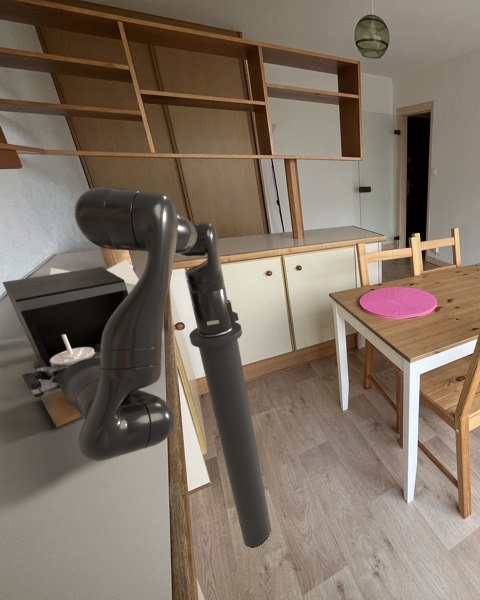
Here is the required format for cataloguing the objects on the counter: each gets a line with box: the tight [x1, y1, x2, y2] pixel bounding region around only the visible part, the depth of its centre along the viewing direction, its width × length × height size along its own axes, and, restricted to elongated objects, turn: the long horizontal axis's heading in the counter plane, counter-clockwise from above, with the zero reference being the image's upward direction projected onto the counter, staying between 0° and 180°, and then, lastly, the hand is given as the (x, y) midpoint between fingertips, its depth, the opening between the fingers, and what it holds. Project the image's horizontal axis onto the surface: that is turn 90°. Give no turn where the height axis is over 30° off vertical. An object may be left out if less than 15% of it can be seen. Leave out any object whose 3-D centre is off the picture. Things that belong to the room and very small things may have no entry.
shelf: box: [2, 266, 128, 367], centre depth 76 cm, size 17×17×21 cm
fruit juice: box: [99, 247, 134, 270], centre depth 144 cm, size 9×9×28 cm
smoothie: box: [50, 334, 96, 366], centre depth 63 cm, size 6×6×14 cm
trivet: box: [40, 389, 83, 428], centre depth 66 cm, size 12×12×1 cm
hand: (71, 356), depth 64 cm, fingers open, 8 cm apart
